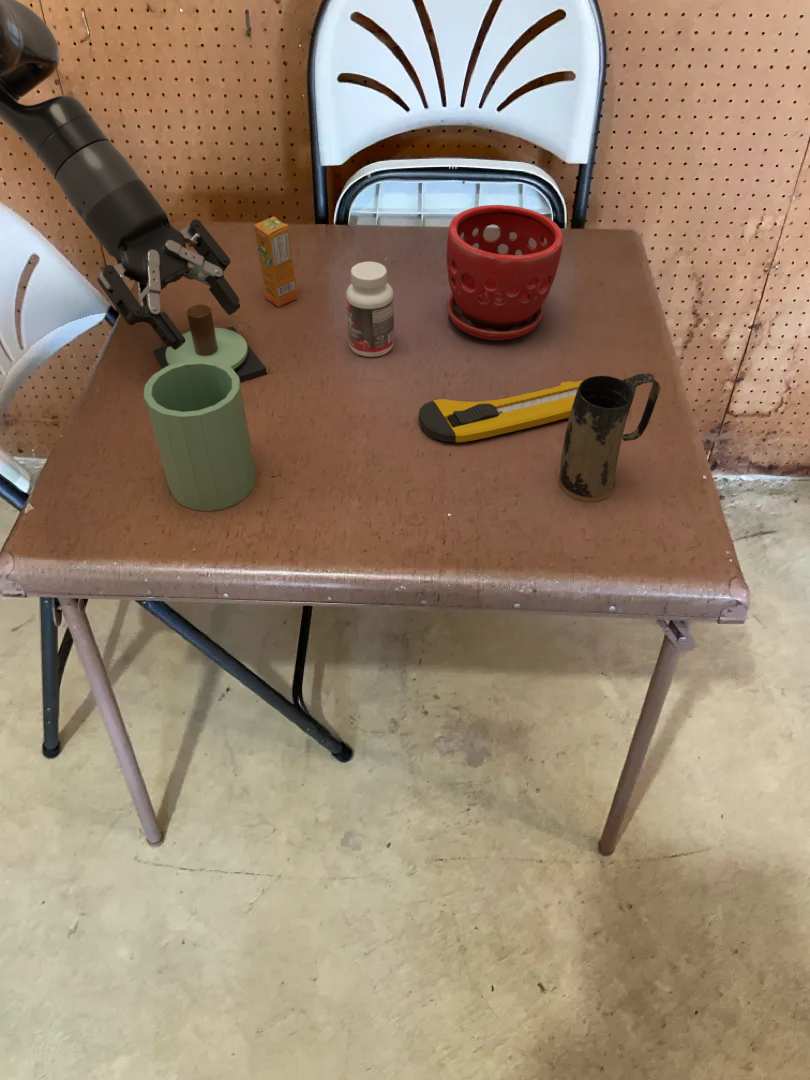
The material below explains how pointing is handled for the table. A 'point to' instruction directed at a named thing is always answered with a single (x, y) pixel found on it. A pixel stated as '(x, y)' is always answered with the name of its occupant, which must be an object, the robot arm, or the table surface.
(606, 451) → the mug
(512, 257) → the flower pot
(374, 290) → the pill bottle
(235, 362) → the stopper
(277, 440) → the table surface
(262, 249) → the supplement box
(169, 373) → the canister
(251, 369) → the mat
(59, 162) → the robot arm
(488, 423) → the utility knife
